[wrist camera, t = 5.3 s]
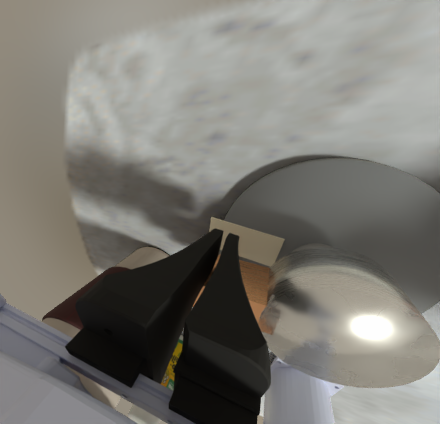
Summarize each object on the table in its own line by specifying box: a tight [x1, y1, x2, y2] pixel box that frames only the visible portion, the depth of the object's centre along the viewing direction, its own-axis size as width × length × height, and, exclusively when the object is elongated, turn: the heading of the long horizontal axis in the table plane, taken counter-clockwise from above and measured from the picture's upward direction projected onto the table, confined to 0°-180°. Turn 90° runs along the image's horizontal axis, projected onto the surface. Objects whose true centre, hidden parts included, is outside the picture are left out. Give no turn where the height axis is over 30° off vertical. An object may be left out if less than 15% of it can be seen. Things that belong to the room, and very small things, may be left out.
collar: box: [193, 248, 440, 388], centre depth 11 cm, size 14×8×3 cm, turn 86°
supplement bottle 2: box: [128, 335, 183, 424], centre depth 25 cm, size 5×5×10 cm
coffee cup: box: [41, 247, 169, 409], centre depth 16 cm, size 10×10×15 cm
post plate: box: [209, 158, 440, 314], centre depth 13 cm, size 17×18×6 cm
